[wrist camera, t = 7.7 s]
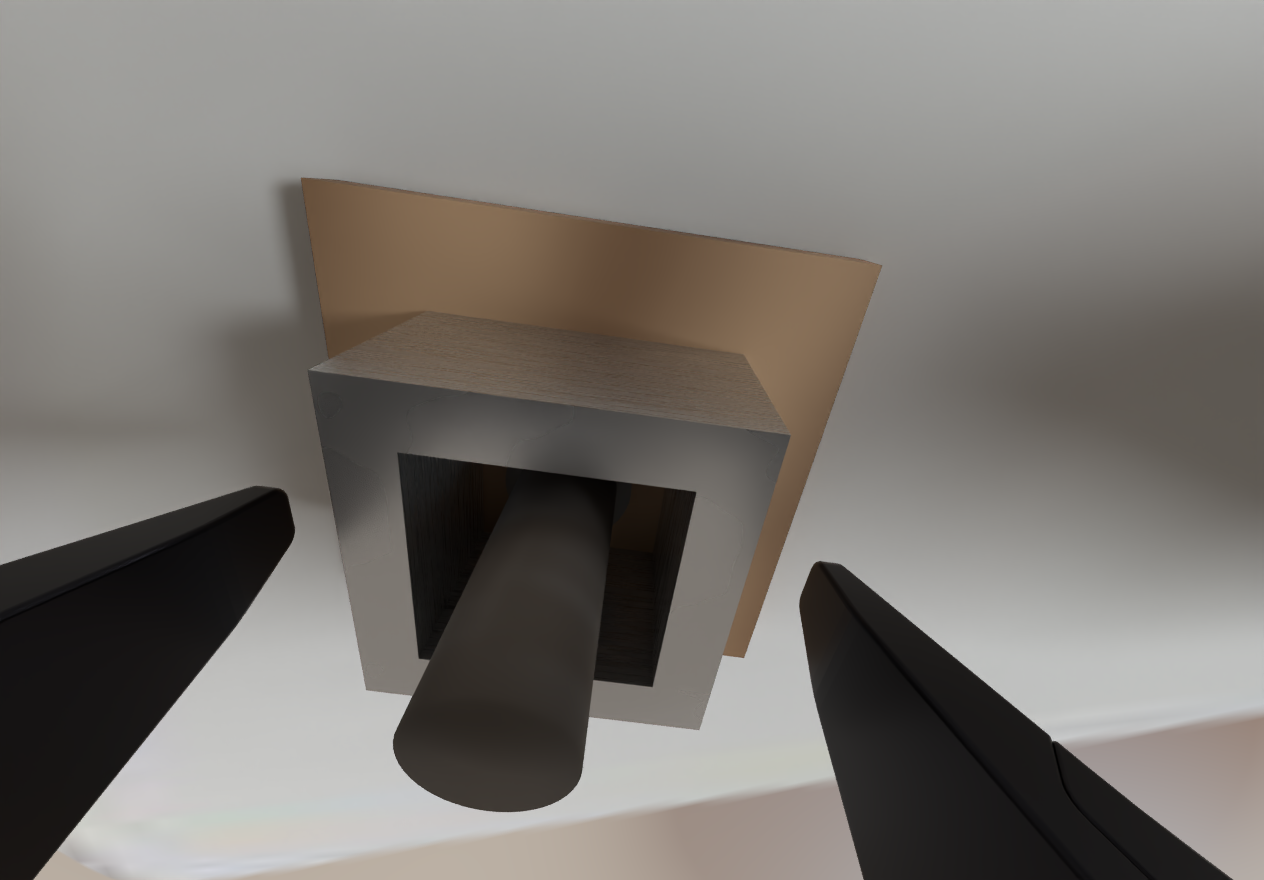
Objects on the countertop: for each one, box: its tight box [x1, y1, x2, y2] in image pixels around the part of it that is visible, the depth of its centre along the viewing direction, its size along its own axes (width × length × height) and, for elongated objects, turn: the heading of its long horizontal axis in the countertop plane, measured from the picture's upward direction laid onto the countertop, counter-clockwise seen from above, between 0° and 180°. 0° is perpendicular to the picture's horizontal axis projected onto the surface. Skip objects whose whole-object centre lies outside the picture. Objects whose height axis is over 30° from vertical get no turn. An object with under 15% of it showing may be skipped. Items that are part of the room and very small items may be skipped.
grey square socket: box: [308, 311, 791, 730], centre depth 9 cm, size 6×6×4 cm
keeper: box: [301, 178, 882, 812], centre depth 8 cm, size 10×10×7 cm
